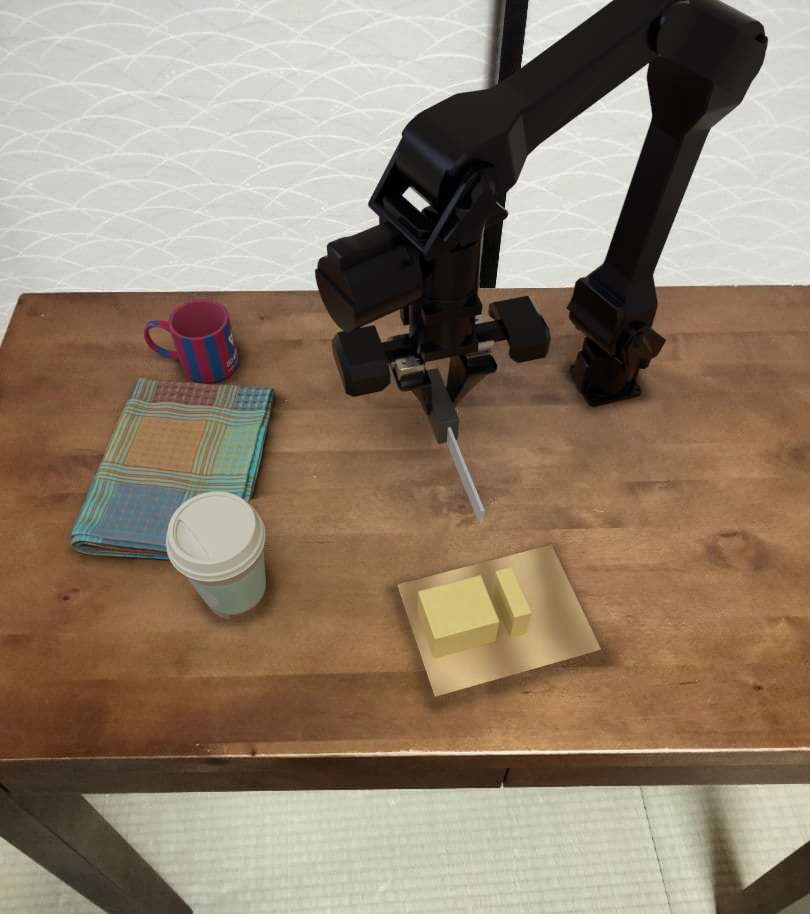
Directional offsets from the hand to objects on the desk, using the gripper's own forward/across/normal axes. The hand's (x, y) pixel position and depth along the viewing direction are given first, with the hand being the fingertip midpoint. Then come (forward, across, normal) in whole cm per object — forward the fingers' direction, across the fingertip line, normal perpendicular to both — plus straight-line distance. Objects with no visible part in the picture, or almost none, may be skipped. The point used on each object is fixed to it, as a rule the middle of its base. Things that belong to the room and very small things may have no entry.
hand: (438, 409), depth 79 cm
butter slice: (+9, -2, +19) cm, 21 cm away
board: (+10, 0, +19) cm, 21 cm away
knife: (+1, 0, +5) cm, 5 cm away
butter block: (+9, +4, +19) cm, 21 cm away
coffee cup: (+10, +23, +9) cm, 27 cm away
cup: (+10, +22, -24) cm, 34 cm away
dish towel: (+10, +26, -8) cm, 29 cm away
